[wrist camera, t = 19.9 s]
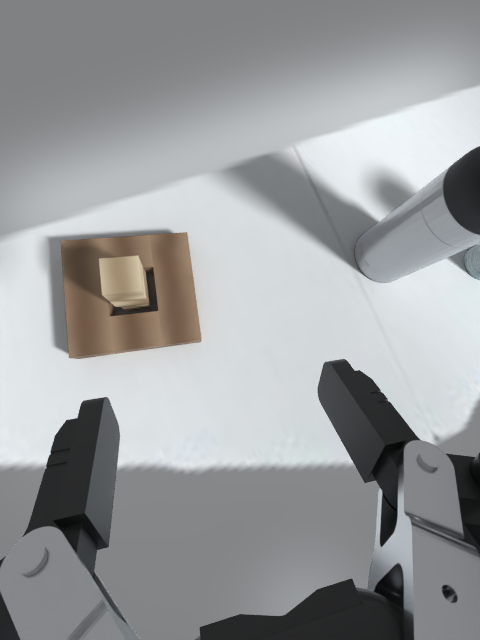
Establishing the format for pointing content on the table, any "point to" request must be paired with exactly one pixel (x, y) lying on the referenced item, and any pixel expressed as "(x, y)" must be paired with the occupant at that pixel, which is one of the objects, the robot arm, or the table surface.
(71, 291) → the walnut board
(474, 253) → the spray paint can
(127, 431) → the table surface
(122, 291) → the oak peg
